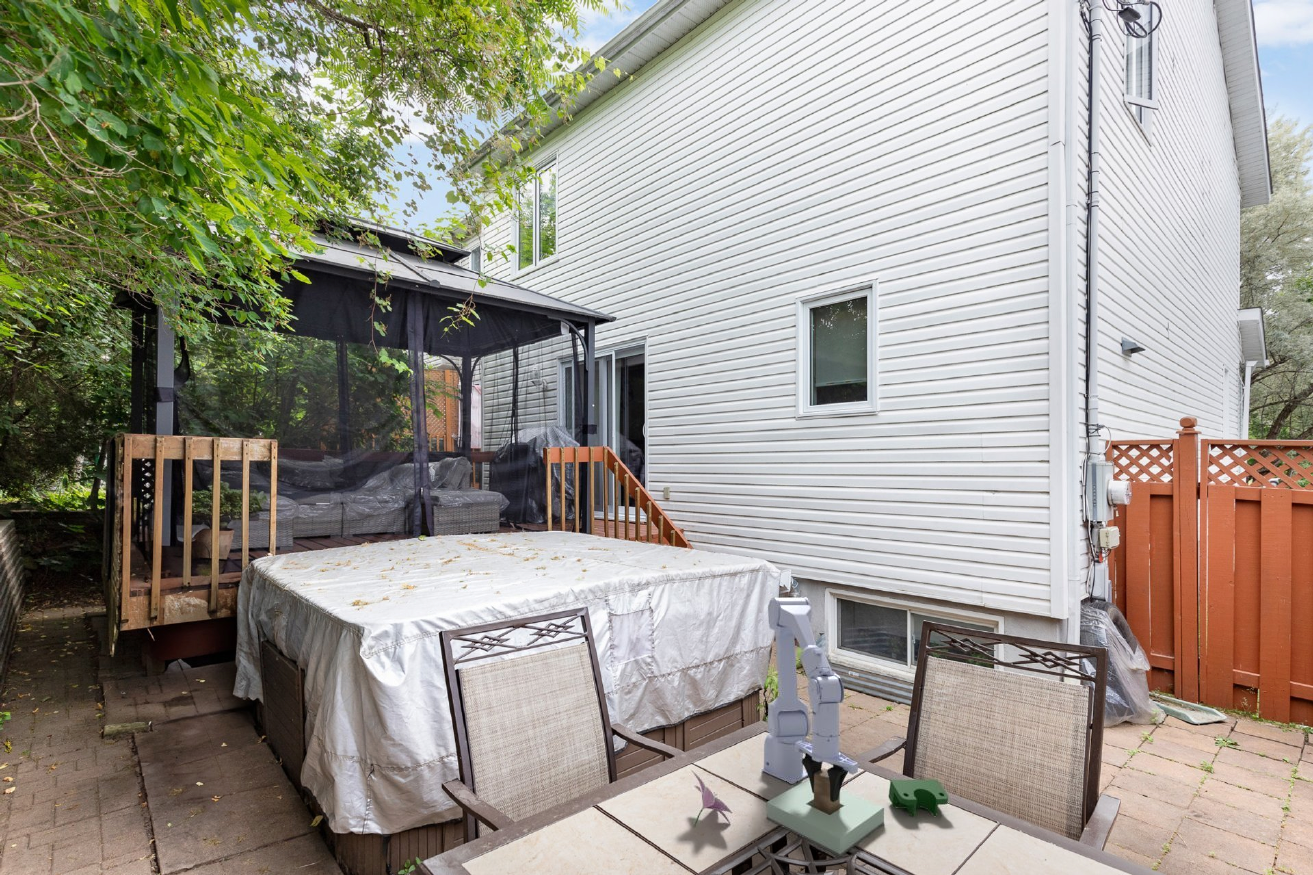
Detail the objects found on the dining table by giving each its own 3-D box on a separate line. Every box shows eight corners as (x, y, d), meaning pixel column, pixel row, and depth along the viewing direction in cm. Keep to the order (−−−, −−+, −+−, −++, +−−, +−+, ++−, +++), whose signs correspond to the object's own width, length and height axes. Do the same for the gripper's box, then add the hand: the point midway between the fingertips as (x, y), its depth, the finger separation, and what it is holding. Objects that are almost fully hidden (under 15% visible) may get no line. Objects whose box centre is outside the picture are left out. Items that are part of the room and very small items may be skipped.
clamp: (906, 835, 139) (895, 802, 137) (894, 814, 144) (883, 782, 143) (956, 815, 139) (945, 783, 137) (942, 795, 144) (932, 764, 143)
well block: (766, 818, 136) (766, 802, 136) (812, 792, 148) (812, 776, 148) (840, 856, 122) (840, 838, 123) (884, 824, 135) (884, 807, 135)
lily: (731, 848, 126) (747, 798, 130) (678, 822, 127) (696, 774, 131) (719, 834, 138) (734, 789, 141) (670, 811, 138) (687, 767, 142)
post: (813, 811, 136) (814, 773, 136) (823, 805, 138) (824, 768, 139) (829, 818, 133) (830, 780, 133) (839, 812, 136) (840, 774, 136)
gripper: (787, 726, 139) (786, 789, 138) (845, 748, 128) (845, 816, 127) (805, 718, 144) (804, 779, 143) (862, 738, 133) (862, 804, 132)
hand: (825, 795), depth 136 cm, fingers closed on post, 4 cm apart
